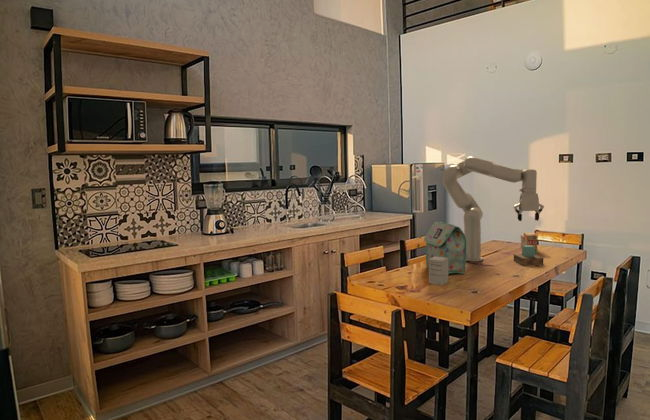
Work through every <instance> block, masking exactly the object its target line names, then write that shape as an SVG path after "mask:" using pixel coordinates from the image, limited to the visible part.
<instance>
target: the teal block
mask: <svg viewBox="0 0 650 420" xmlns="http://www.w3.org/2000/svg"><path fill="white" fill-rule="evenodd" d="M534 249H535V247H534V246H532V245H522V248H521V254H522V256H524V257H534Z"/></svg>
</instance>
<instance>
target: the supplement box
mask: <svg viewBox="0 0 650 420" xmlns="http://www.w3.org/2000/svg"><path fill="white" fill-rule="evenodd" d="M428 283H431V285H435V284H438V285H437V286H441V285H443V286H444V285H446V284H448V283H449V274H448V258H444V257H433V258H430V259H429V268H428Z"/></svg>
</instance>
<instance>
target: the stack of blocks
mask: <svg viewBox="0 0 650 420" xmlns="http://www.w3.org/2000/svg"><path fill="white" fill-rule="evenodd" d="M522 245H532V246H534V247H535V249H534V254H535V255H537V254H538V235H537V233H535V232H533V231H532V232H530V231H528V232H527V231H526V232H525V231H524V232H523V234H521V235H520V248H521V249H522Z"/></svg>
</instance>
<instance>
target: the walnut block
mask: <svg viewBox="0 0 650 420" xmlns="http://www.w3.org/2000/svg"><path fill="white" fill-rule="evenodd" d="M513 262H515V263H516V264H519V265H521V266H543V265H544V257H542V256H540V255H537V254H534V257H524V256H522V253H520V254H519V253H518V254H513Z"/></svg>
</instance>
